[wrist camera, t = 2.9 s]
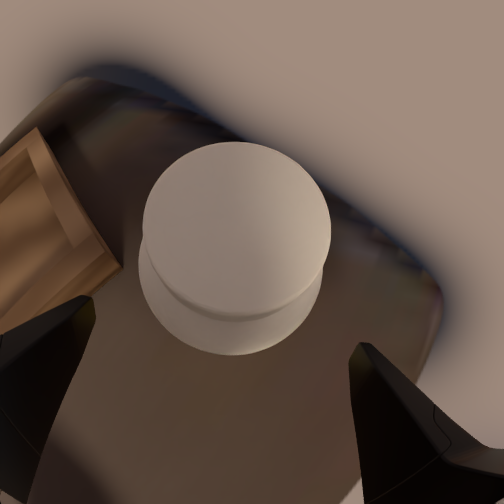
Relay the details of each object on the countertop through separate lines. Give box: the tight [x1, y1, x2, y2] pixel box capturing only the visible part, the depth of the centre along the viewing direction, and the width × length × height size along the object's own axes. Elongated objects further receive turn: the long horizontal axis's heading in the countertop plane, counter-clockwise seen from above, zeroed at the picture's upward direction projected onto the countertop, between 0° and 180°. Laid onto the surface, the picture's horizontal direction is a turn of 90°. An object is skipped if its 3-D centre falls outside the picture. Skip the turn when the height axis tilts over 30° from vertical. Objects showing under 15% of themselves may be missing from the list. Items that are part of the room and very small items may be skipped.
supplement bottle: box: [138, 142, 331, 355], centre depth 13 cm, size 7×7×13 cm
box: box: [0, 127, 123, 335], centre depth 16 cm, size 14×14×4 cm
